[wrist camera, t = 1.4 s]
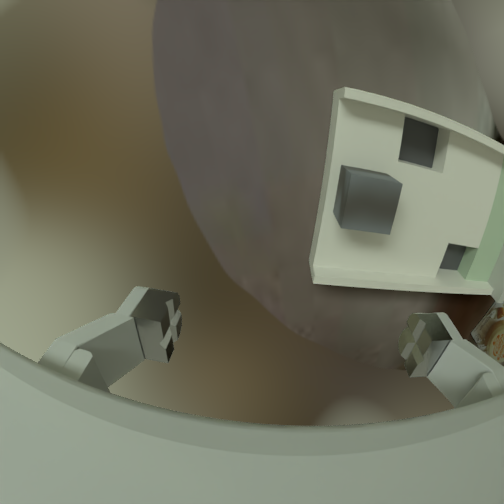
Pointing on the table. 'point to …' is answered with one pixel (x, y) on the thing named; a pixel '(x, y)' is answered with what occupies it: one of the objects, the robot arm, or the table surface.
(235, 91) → the table surface
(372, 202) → the block
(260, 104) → the table surface
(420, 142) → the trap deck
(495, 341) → the coffee box
